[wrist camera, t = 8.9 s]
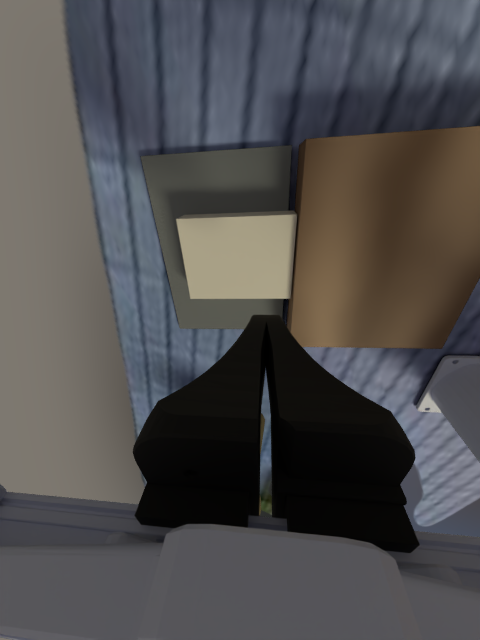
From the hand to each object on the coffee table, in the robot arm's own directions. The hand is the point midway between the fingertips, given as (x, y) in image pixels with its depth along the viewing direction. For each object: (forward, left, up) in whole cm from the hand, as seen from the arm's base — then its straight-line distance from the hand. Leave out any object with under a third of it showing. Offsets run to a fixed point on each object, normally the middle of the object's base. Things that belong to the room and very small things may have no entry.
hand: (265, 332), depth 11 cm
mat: (+3, -1, -9) cm, 10 cm away
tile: (+2, -1, -9) cm, 9 cm away
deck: (-8, -1, -9) cm, 12 cm away
